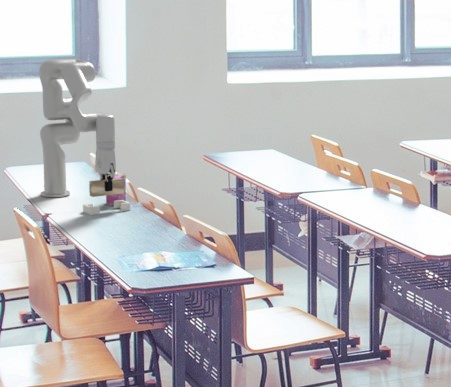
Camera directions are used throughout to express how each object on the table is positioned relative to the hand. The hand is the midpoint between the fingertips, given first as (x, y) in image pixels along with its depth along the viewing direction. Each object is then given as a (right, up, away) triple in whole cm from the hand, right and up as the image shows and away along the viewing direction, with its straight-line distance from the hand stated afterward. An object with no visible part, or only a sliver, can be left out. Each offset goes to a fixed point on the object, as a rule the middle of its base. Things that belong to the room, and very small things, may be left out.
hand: (106, 189), depth 414 cm
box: (+2, -6, +18) cm, 19 cm away
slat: (0, -2, 0) cm, 2 cm away
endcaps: (0, -9, +2) cm, 9 cm away
